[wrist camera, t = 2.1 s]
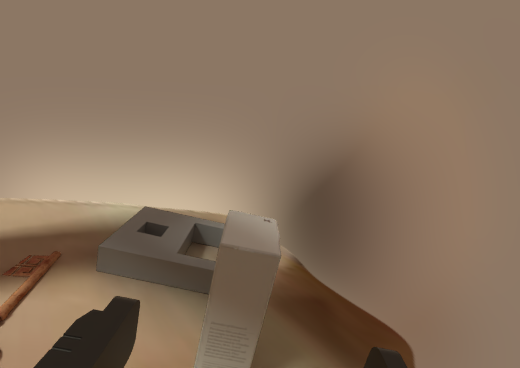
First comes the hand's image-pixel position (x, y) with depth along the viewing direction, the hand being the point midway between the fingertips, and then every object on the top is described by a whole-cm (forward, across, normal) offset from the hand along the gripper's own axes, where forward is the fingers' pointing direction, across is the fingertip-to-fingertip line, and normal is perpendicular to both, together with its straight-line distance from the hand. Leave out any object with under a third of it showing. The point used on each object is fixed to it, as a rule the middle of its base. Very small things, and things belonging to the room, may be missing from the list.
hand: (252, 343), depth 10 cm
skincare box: (+12, 0, +13) cm, 18 cm away
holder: (+25, +7, +13) cm, 29 cm away
